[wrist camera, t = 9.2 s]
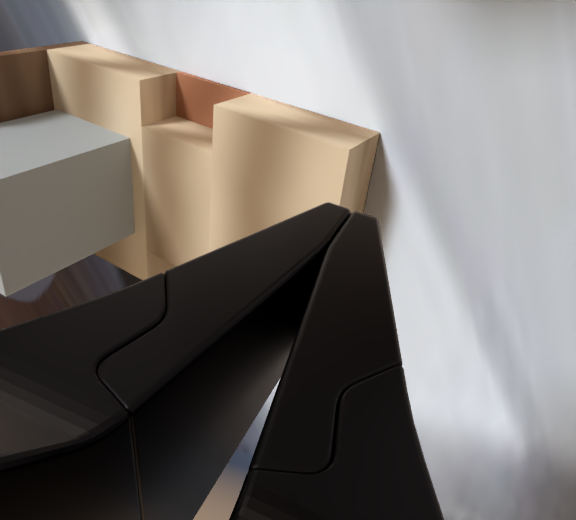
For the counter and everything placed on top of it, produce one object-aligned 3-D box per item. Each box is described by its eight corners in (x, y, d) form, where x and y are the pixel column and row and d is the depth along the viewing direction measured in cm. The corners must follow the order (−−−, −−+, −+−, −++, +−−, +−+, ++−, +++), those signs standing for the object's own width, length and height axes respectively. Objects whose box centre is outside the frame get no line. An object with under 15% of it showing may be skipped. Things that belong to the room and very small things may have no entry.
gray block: (129, 138, 24) (-20, 185, 19) (135, 232, 27) (5, 296, 22) (57, 109, 26) (-95, 145, 21) (68, 200, 29) (-64, 251, 24)
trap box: (380, 132, 20) (266, 196, 15) (336, 341, 26) (242, 443, 20) (82, 41, 27) (-73, 61, 21) (99, 222, 33) (-19, 275, 27)
